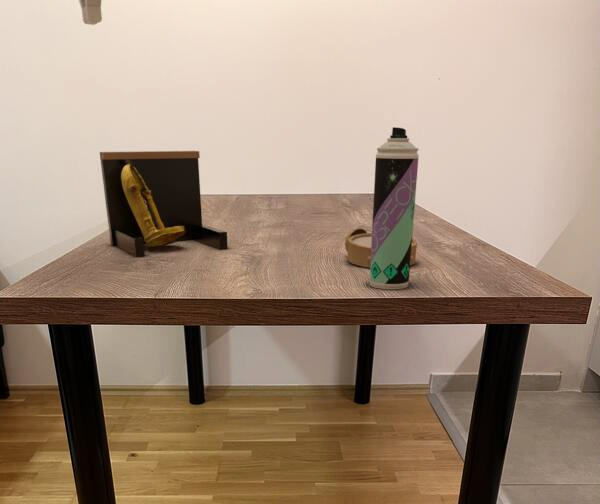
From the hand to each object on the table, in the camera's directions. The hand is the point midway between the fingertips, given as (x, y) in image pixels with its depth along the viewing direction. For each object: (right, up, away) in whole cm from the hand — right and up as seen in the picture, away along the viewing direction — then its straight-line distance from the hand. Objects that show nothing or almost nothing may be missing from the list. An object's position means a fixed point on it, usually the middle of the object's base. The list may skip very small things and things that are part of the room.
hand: (92, 23), depth 85 cm
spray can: (+40, -34, +5) cm, 53 cm away
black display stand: (+4, -20, +33) cm, 39 cm away
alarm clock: (+41, -26, +22) cm, 53 cm away
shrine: (+1, -21, +32) cm, 38 cm away
